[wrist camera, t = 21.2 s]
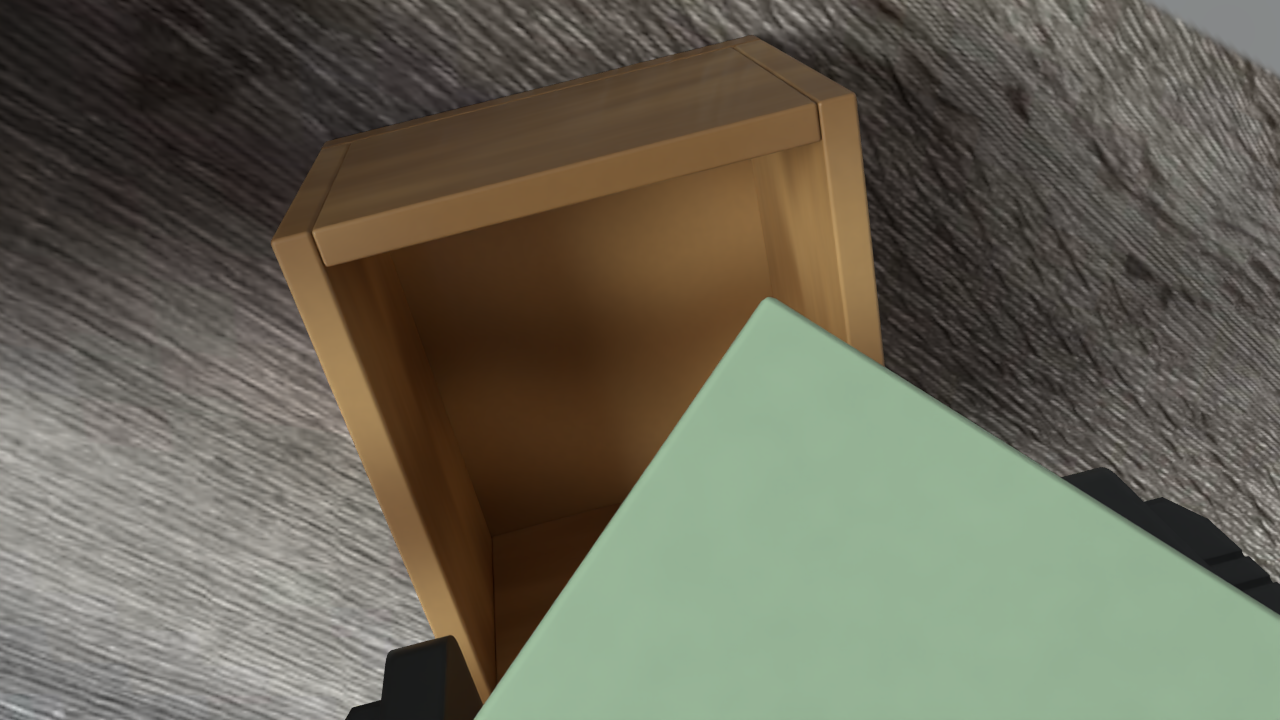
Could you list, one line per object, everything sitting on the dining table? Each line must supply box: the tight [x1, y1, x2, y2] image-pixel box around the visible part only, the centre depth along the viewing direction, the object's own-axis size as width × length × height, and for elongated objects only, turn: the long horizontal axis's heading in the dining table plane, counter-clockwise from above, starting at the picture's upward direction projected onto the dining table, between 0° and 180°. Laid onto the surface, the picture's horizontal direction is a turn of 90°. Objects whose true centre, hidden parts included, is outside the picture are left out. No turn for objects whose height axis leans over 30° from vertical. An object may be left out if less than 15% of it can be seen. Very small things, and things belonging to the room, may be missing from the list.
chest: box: [271, 35, 885, 705], centre depth 25 cm, size 14×12×8 cm
